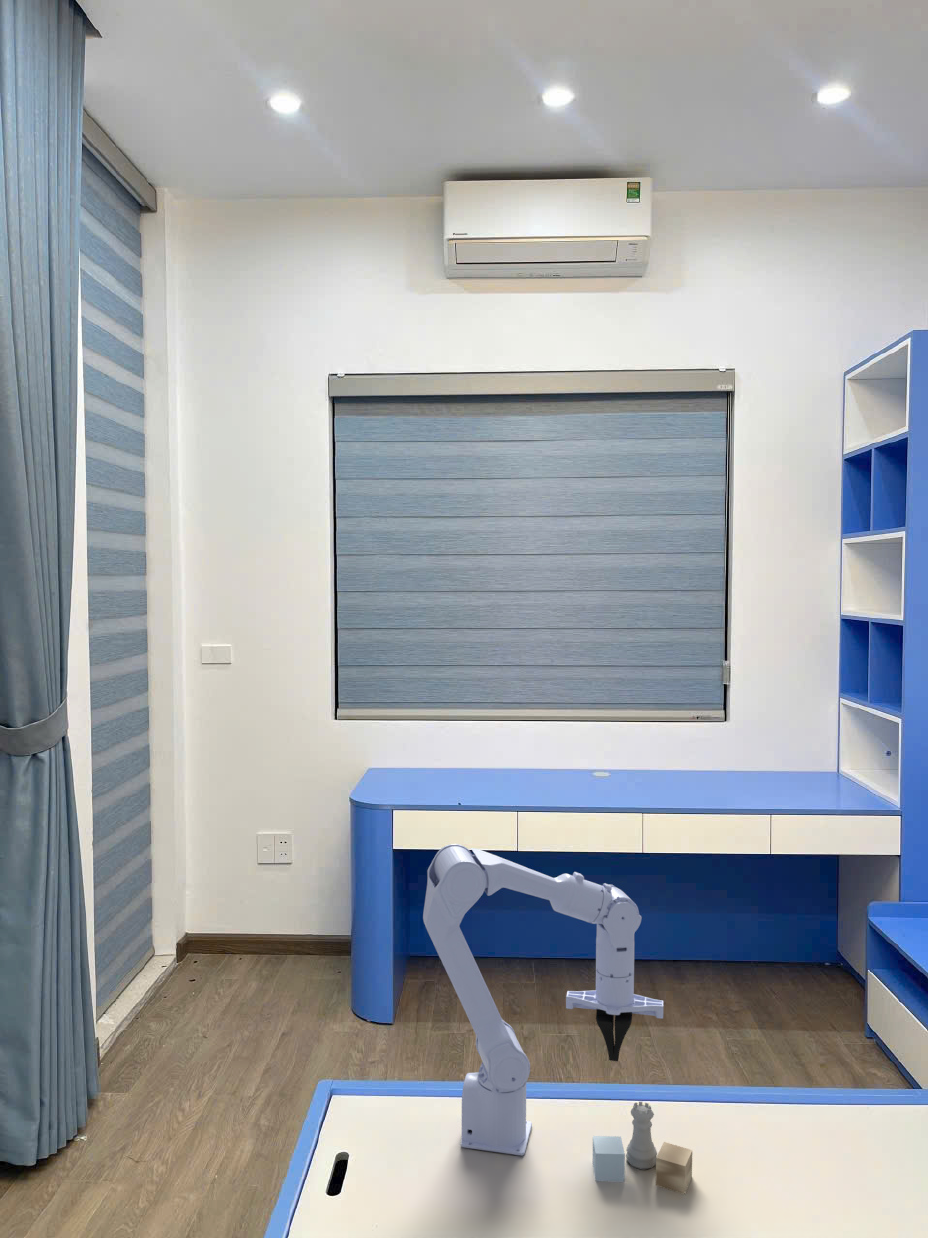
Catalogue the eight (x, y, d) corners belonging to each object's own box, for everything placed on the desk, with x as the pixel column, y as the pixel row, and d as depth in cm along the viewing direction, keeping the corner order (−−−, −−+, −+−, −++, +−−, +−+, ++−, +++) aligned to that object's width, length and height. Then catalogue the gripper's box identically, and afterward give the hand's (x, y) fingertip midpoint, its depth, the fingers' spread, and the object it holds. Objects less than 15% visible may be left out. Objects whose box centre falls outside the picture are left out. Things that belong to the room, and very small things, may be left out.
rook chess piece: (657, 1173, 129) (658, 1117, 129) (625, 1169, 130) (625, 1113, 130) (657, 1153, 133) (658, 1099, 133) (626, 1149, 134) (626, 1096, 134)
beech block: (655, 1186, 126) (656, 1157, 126) (663, 1169, 130) (663, 1142, 130) (684, 1195, 125) (685, 1166, 124) (691, 1178, 128) (692, 1150, 128)
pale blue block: (595, 1181, 127) (595, 1153, 127) (592, 1163, 131) (592, 1136, 131) (624, 1182, 127) (624, 1154, 127) (620, 1164, 131) (621, 1136, 131)
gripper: (564, 976, 137) (563, 1065, 138) (663, 986, 134) (662, 1077, 134) (569, 957, 144) (568, 1042, 145) (664, 966, 141) (662, 1053, 141)
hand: (613, 1057), depth 140 cm, fingers closed
